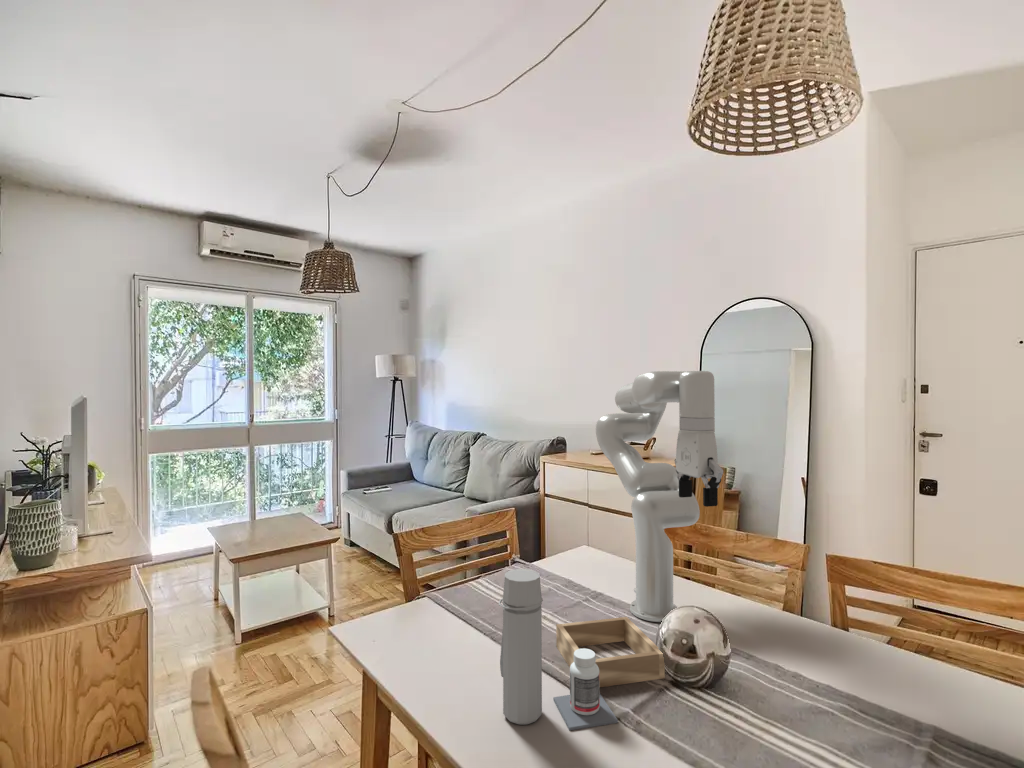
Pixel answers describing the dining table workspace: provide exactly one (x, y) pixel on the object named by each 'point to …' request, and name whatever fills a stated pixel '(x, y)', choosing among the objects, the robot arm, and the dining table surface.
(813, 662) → the dining table surface
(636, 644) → the oak crate
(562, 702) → the rubber mat
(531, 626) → the water bottle
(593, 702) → the pill bottle
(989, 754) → the dining table surface
